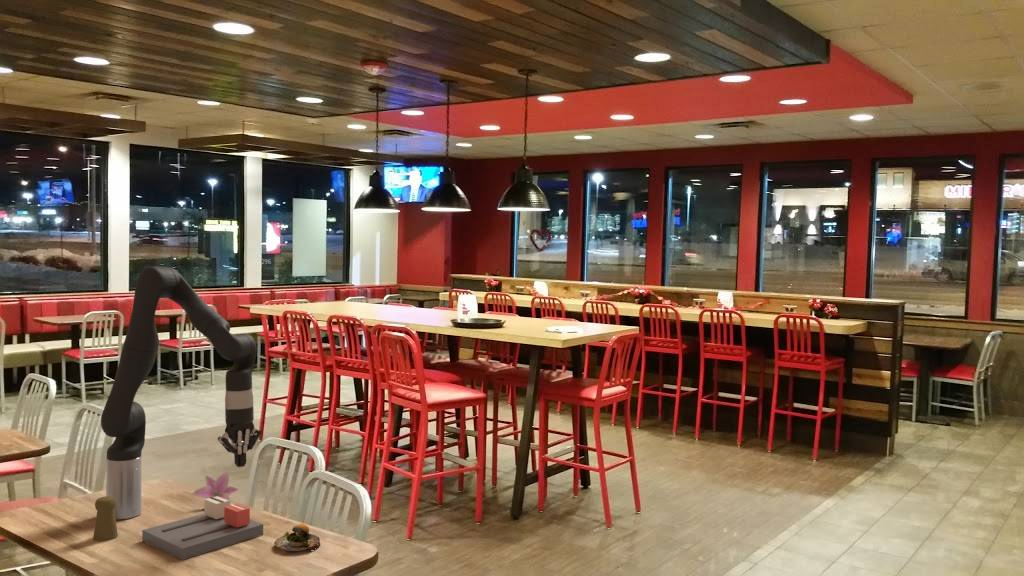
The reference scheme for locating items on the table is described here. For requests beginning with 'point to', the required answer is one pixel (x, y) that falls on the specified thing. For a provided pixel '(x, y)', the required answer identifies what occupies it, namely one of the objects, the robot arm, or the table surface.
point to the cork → (105, 519)
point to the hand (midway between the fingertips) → (240, 466)
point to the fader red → (237, 515)
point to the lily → (216, 488)
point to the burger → (298, 539)
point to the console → (198, 535)
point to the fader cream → (215, 507)
